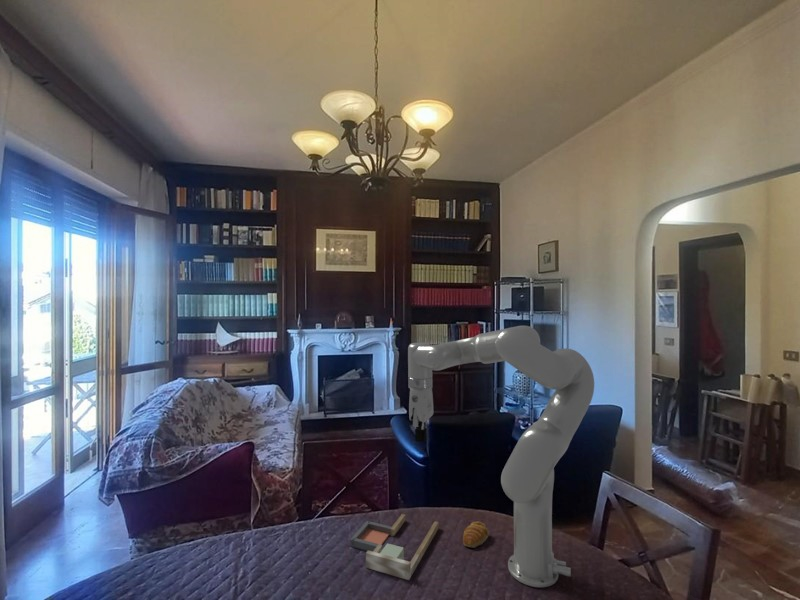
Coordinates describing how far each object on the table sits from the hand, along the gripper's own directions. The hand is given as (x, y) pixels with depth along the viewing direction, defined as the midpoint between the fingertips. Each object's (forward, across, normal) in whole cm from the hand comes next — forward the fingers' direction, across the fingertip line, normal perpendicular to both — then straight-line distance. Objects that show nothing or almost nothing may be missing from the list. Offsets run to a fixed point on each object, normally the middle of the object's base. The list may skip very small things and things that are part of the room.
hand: (420, 440), depth 127 cm
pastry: (+28, 0, -17) cm, 32 cm away
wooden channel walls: (+27, -11, +1) cm, 29 cm away
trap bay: (+27, -12, +11) cm, 32 cm away
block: (+27, -20, +1) cm, 34 cm away
